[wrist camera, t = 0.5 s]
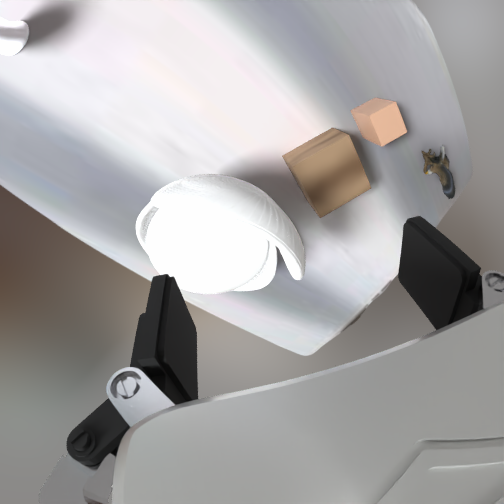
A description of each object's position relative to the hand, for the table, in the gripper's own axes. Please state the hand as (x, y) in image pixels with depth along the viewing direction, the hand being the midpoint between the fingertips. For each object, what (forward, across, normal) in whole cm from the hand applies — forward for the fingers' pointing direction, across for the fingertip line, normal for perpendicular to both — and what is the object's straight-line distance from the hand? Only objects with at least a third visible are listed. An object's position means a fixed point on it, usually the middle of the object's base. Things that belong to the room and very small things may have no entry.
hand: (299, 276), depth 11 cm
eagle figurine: (+34, -35, +10) cm, 50 cm away
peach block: (+34, -22, +1) cm, 40 cm away
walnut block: (+34, -12, +7) cm, 37 cm away
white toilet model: (+34, +6, +11) cm, 36 cm away
